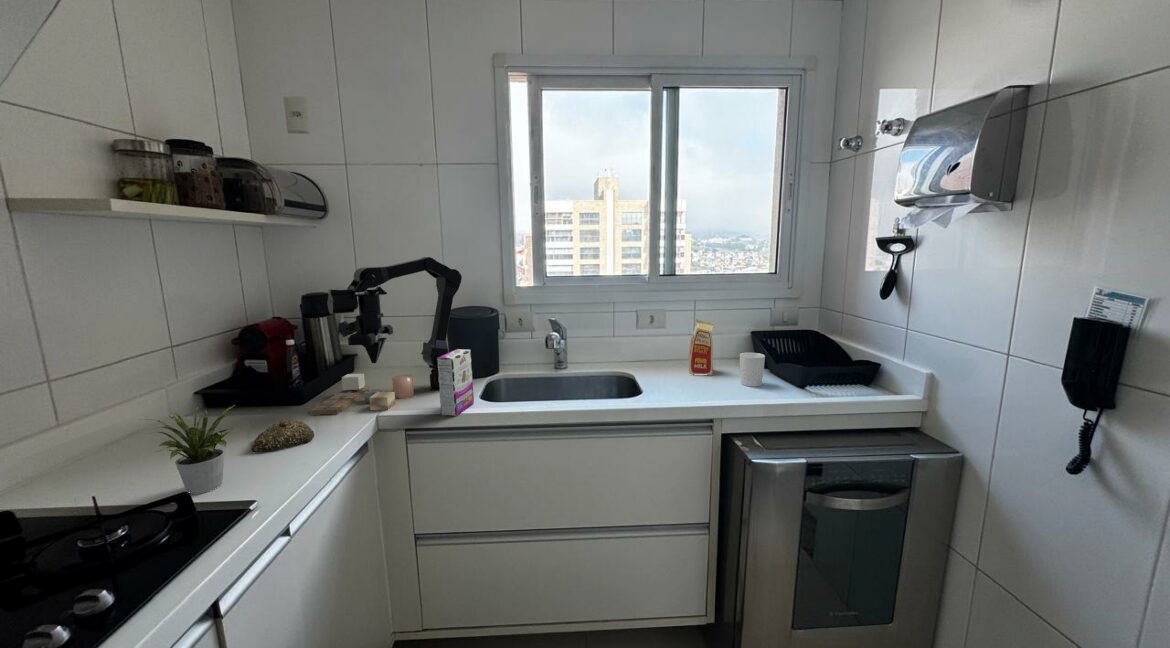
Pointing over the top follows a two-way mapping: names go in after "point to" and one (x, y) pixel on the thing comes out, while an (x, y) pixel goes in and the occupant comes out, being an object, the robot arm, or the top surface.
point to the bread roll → (283, 436)
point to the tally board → (338, 402)
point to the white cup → (751, 369)
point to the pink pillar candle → (403, 386)
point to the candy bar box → (455, 382)
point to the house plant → (198, 453)
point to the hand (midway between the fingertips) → (374, 363)
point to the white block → (353, 381)
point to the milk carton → (701, 349)
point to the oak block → (382, 401)
